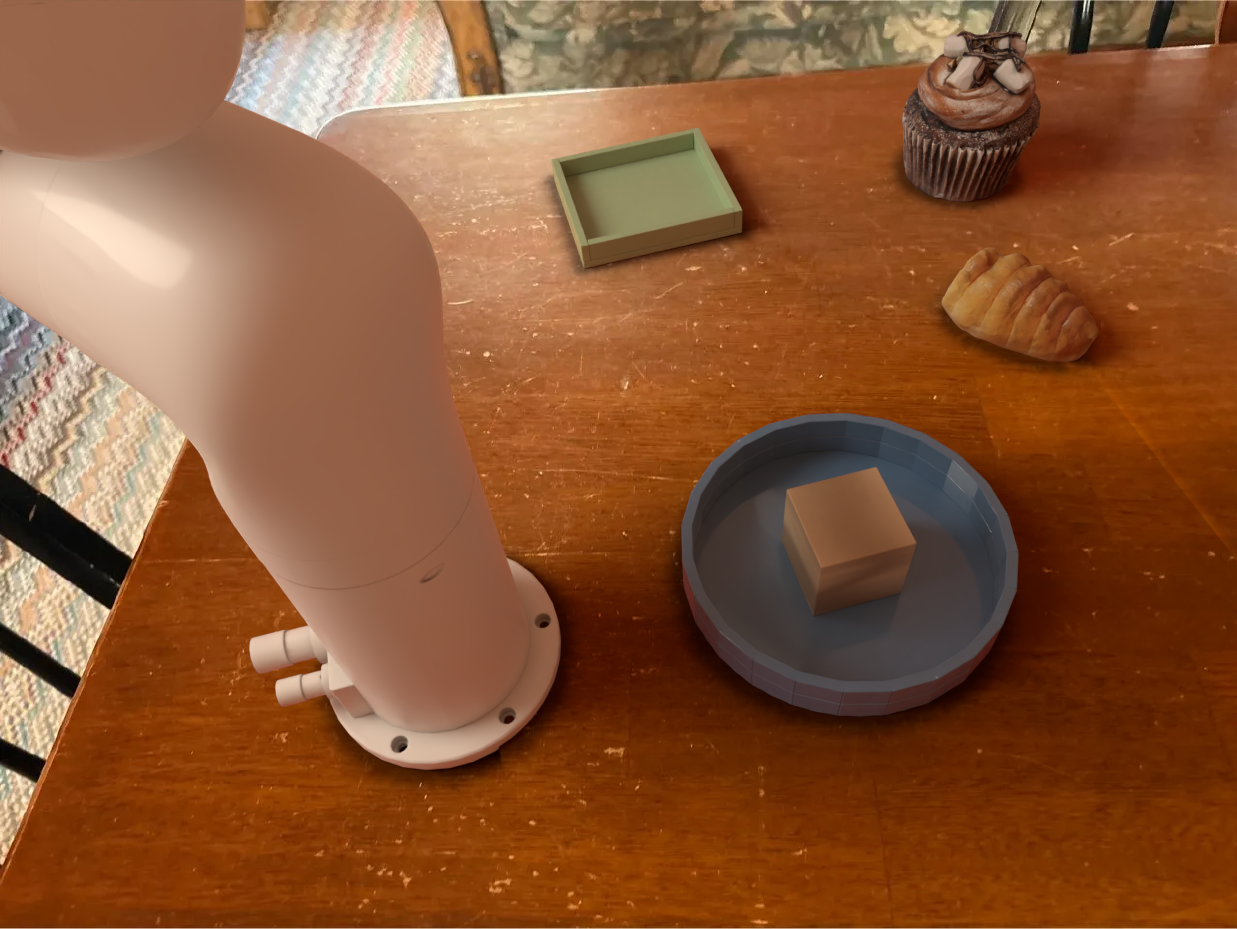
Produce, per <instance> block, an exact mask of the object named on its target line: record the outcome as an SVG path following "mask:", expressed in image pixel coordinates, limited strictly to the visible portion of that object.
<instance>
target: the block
mask: <svg viewBox="0 0 1237 929" xmlns="http://www.w3.org/2000/svg"><path fill="white" fill-rule="evenodd" d="M782 543H783V546H784V548H785V550H786V553H787V555H788V558H789V560H790V562H791V565H792V567H793V569H794V572H795V574H796V576H797V579H798V581H799V584H800V586H801V588H802V591H803V593H804V595H805V598H806V600H807V603H808V605H809V607H810V610H811V612H812V614H813V616H815V615H819V614H823V613H827V612H830V611H834V610H838V609H842V608H846V607H849V606H853V605H857V604H861V603H865V602H868V601H872V600H876V599H880V598H884V597H887V596H891V595H895V594H899V593H901V592H902V589H903V585H904V582H905V579H906V576H907V573H908V569H909V566H910V563H911V560H912V557H913V553H914V550H915V547H916V541H915V539H914V537H913V535H912V533H911V531H910V530H909V528H908V526H907V524H906V522H905V520H904V518H903V516H902V514H901V513H900V511H899V509H898V507H897V505H896V503H895V501H894V499H893V497H892V496H891V494H890V492H889V490H888V488H887V486H886V484H885V482H884V480H883V479H882V477H881V475H880V473H879V471H878V469H877V468H876V467H874V468H870V469H866V470H862V471H858V472H854V473H851V474H847V475H843V476H839V477H835V478H831V479H827V480H823V481H819V482H815V483H811V484H807V485H803V486H799V487H795V488H791V489H787V492H786V502H785V512H784V522H783V532H782Z"/></svg>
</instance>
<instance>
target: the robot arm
mask: <svg viewBox="0 0 1237 929" xmlns="http://www.w3.org/2000/svg"><path fill="white" fill-rule="evenodd" d="M246 25H247V2H246V0H0V297H2V298H3V299H5V300H6V301H7V302H9V303H10V304H12V305H13V306H14V307H16V308H17V309H19V310H20V311H22V312H23V313H25V314H27V315H28V316H29V317H31V318H32V319H34V320H35V321H37V322H38V323H40V324H41V325H42V326H44V327H46V328H47V329H49V330H50V331H52V332H53V333H55V334H56V335H57V336H59V337H61V338H62V339H63V340H65V341H67V342H68V343H69V344H72V345H73V346H74V347H75V348H76V349H77V350H78V351H79V352H81V353H82V354H83V355H84V356H86V357H87V358H88V359H89V360H91V361H93V362H94V363H96V364H98V365H99V366H100V367H102V368H103V369H105V370H106V371H108V372H109V373H111V374H112V375H114V376H116V377H117V378H118V379H120V380H121V381H123V382H124V383H125V384H127V385H128V386H129V387H130V388H133V389H134V390H135V391H136V392H137V393H139V394H140V395H141V396H143V397H144V398H145V399H147V400H148V401H149V402H150V403H152V404H153V405H154V406H155V407H156V408H157V409H158V410H160V412H162V413H163V415H165V417H166V418H168V419H169V420H170V421H171V422H172V423H173V424H174V425H175V426H176V427H177V428H178V429H179V430H180V432H181V433H182V434H183V435H184V436H185V437H186V439H188V441H189V442H190V443H191V444H192V445H193V447H194V448H195V449H196V451H197V452H198V454H199V456H200V457H201V458H202V460H203V462H204V465H205V467H206V471H207V473H208V478H209V481H210V485H211V487H212V488H211V489H212V490H213V492H214V495H215V497H216V499H217V500H218V503H219V504H220V506H221V508H222V509H223V511H224V512H225V514H226V515H227V517H228V518H229V520H230V521H231V524H232V525H233V526H234V528H235V529H236V530H237V532H238V533H239V534H240V536H241V537H242V539H243V540H244V541H245V543H246V544H247V546H248V547H249V549H251V551H252V552H253V554H254V555H255V557H256V558H257V559H258V560H259V561H260V563H262V565H263V566H264V567H265V569H266V570H267V571H268V573H269V574H270V576H271V577H272V578H273V580H274V581H275V582H276V584H277V585H278V586H279V587H280V589H281V590H282V592H283V593H284V594H285V596H286V597H287V598H288V600H289V601H290V603H291V604H292V605H293V607H294V608H295V609H296V611H297V612H298V613H299V615H300V616H301V617H302V619H303V620H304V621H305V623H306V624H307V625H304V626H300V627H295V628H293V629H283V630H277V631H274V632H270V633H266V634H262V635H258V636H254V637H251V638H250V641H249V655H250V660H251V664H252V666H253V667H252V668H253V669H254V670H255V672H256V673H257V674H259V675H262V674H266V673H269V672H273V671H277V670H281V669H285V668H289V667H293V666H294V665H295V664H299V663H301V662H305V661H309V660H313V659H317V661H318V663H319V664H322V665H321V667H320V670H317V671H313V672H309V673H305V674H303V673H300V674H297V675H293V676H288V677H285V678H281V679H278V680H276V682H275V687H274V688H275V697H276V699H277V702H278V704H279V706H280V707H282V708H285V707H289V706H294V705H297V704H301V703H304V702H308V701H309V700H311V699H315V698H318V697H323V696H326V698H327V699H328V700H329V703H330V705H331V707H332V709H333V711H334V714H335V716H336V718H337V720H338V722H339V723H340V724H341V725H342V727H343V728H344V729H345V731H346V732H347V733H348V735H349V736H350V737H351V738H352V739H353V740H354V741H355V742H356V743H357V744H358V745H359V746H360V747H361V748H362V749H364V751H367V752H368V753H370V754H372V755H373V756H375V757H377V758H378V759H380V760H381V761H383V762H386V763H390V764H393V765H396V766H399V767H402V768H407V769H416V770H424V771H429V770H441V769H452V768H455V767H458V766H463V765H467V764H469V763H470V764H471V763H474V762H476V761H478V760H480V759H482V758H484V757H487V756H489V755H490V754H493V753H495V752H497V751H498V750H500V746H502V745H504V744H505V743H507V742H508V741H509V740H511V739H512V738H514V736H516V735H517V734H518V733H519V732H520V731H522V729H523V728H524V727H525V726H526V725H527V724H528V723H529V722H530V721H531V720H532V719H533V718H534V717H535V715H536V714H537V712H538V711H539V709H541V707H542V705H543V704H544V702H545V701H546V699H547V697H548V695H549V693H550V691H551V689H552V687H553V684H554V682H555V680H556V676H557V673H558V668H559V666H560V660H561V651H562V650H561V648H562V634H561V629H560V623H559V619H558V615H557V612H556V609H555V606H554V603H553V601H552V600H551V598H550V596H549V594H548V592H547V590H546V588H545V587H544V586H543V584H542V583H541V582H540V581H539V580H538V579H537V578H536V576H535V575H534V573H532V572H531V571H530V570H528V569H527V568H526V567H524V566H522V565H521V564H520V563H519V562H518V561H515V560H513V559H511V558H510V557H507V554H506V552H505V549H504V546H503V544H502V541H501V537H500V535H499V532H498V528H497V525H496V522H495V520H494V516H493V514H492V511H491V508H490V505H489V502H488V498H487V496H486V493H485V489H484V487H483V484H482V481H481V479H480V475H479V472H478V470H477V467H476V463H475V460H474V458H473V455H472V452H471V449H470V446H469V443H468V440H467V437H466V434H465V431H464V428H463V425H462V422H461V418H460V416H459V413H458V408H457V405H456V402H455V399H454V394H453V390H452V386H451V383H450V376H449V371H448V365H447V364H448V363H447V358H446V348H445V347H446V346H445V334H444V332H445V331H444V305H443V303H444V302H443V291H442V289H443V288H442V281H441V275H440V270H439V264H438V260H437V258H436V253H435V251H434V248H433V245H432V243H431V242H432V241H431V239H430V238H429V235H428V234H427V232H426V229H425V228H424V226H423V225H422V223H421V221H420V220H419V218H418V217H417V216H416V214H415V213H414V211H412V209H411V208H410V207H409V205H407V203H406V202H405V201H404V200H403V199H402V198H401V197H400V196H399V194H397V193H396V192H395V191H394V190H393V189H392V188H391V187H390V186H389V185H388V184H386V182H385V181H383V180H382V179H380V178H379V177H378V176H377V175H375V174H374V173H372V172H371V171H370V170H368V169H367V168H366V167H364V166H363V165H362V164H360V163H359V162H357V161H356V160H355V159H352V158H351V157H349V156H347V155H346V154H345V153H342V152H341V151H340V150H337V149H336V148H334V147H332V146H331V145H329V144H326V143H325V142H323V141H320V140H318V139H316V138H314V137H312V136H311V135H308V134H306V133H304V132H302V131H300V130H297V129H295V128H293V127H290V126H288V125H286V124H283V123H281V122H279V121H276V120H273V119H272V118H269V117H267V116H264V115H262V114H260V113H258V112H255V111H252V110H250V109H248V108H246V107H243V106H241V105H238V104H236V103H234V102H231V101H229V100H225V99H226V97H227V96H228V94H229V92H230V90H231V88H232V86H233V85H234V83H235V79H236V76H237V74H238V71H239V68H240V65H241V60H242V56H243V50H244V44H245V39H246V27H247V26H246ZM543 623H547V624H548V625H547V626H546V627H541V624H543ZM509 716H510V717H512V718H513V720H512V722H509V723H506V722H505V719H506V718H507V717H509ZM404 747H406V748H405V749H404V750H403V751H401V750H402V748H404Z"/></svg>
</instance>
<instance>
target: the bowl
mask: <svg viewBox="0 0 1237 929" xmlns="http://www.w3.org/2000/svg"><path fill="white" fill-rule="evenodd" d="M874 467H876V468H877V469H878V471H879V473H880V475H881V477H882V479H883V480H884V482H885V484H886V486H887V488H888V490H889V492H890V494H891V496H892V497H893V499H894V501H895V503H896V505H897V507H898V509H899V511H900V513H901V514H902V516H903V518H904V520H905V522H906V524H907V526H908V528H909V530H910V531H911V533H912V535H913V537H914V539H915V541H916V547H915V550H914V553H913V557H912V560H911V563H910V566H909V569H908V573H907V576H906V579H905V582H904V585H903V589H902V592H901V593H899V594H895V595H891V596H887V597H884V598H880V599H876V600H872V601H868V602H865V603H861V604H857V605H853V606H849V607H846V608H842V609H838V610H834V611H830V612H827V613H823V614H819V615H815V616H813V614H812V612H811V610H810V607H809V605H808V603H807V600H806V598H805V595H804V593H803V591H802V588H801V586H800V584H799V581H798V579H797V576H796V574H795V572H794V569H793V567H792V565H791V562H790V560H789V558H788V555H787V553H786V550H785V548H784V546H783V543H782V532H783V522H784V512H785V502H786V492H787V489H791V488H795V487H799V486H803V485H807V484H811V483H815V482H819V481H823V480H827V479H831V478H835V477H839V476H843V475H847V474H851V473H854V472H858V471H862V470H866V469H870V468H874ZM680 527H681V528H680V530H681V563H682V581H683V582H682V584H683V590H684V592H685V596H686V598H687V602H688V605H689V607H690V611H691V614H692V617H693V620H694V622H695V624H696V626H697V627H698V629H699V631H701V633H702V635H703V636H704V638H705V640H706V641H707V643H708V644H709V645H710V647H712V650H713V651H714V652H715V654H716V655H717V656H718V657H719V658H720V659H721V660H722V661H723V662H724V663H725V664H726V665H728V667H730V668H731V669H732V670H733V671H734V672H735V673H736V674H738V675H739V676H741V677H742V678H743V679H744V680H745V681H746V682H748V683H749V684H750V685H751V686H753V687H755V688H756V689H759V690H761V691H763V692H765V693H766V694H768V695H769V696H772V697H774V698H776V699H779V700H781V701H782V702H784V703H787V704H789V705H790V706H791V705H792V706H793V707H794V706H795V707H798V708H803V709H806V710H809V711H813V712H817V713H823V714H829V715H833V716H839V717H847V716H848V717H870V716H871V717H872V716H888V715H891V714H894V713H899V712H902V711H903V712H904V711H907V710H910V709H913V708H917V707H920V706H924V705H927V704H929V703H931V702H933V701H934V700H936V699H938V698H939V697H941V696H942V695H944V694H946V693H948V692H949V691H951V690H952V689H954V688H956V687H958V685H960V684H962V683H963V682H965V681H966V679H968V677H969V676H970V675H971V674H972V672H974V670H975V669H976V668H977V667H978V666H979V664H981V662H982V661H983V660H984V659H985V658H986V656H987V655H989V653H990V651H991V650H992V647H993V646H994V644H995V642H996V639H998V636H999V634H1000V632H1001V630H1002V628H1003V626H1004V624H1005V621H1006V618H1007V616H1008V614H1009V612H1010V609H1011V607H1012V604H1013V602H1014V599H1015V596H1016V594H1017V590H1018V581H1019V580H1018V575H1019V557H1020V556H1019V554H1020V553H1019V548H1018V545H1017V542H1016V538H1015V534H1014V531H1013V527H1012V523H1011V519H1010V517H1009V513H1007V511H1006V509H1005V507H1004V505H1003V504H1002V503H1001V501H1000V499H999V498H998V496H997V494H996V493H995V491H994V490H993V488H992V486H991V484H990V483H989V482H988V481H987V480H986V479H985V478H984V477H983V476H982V475H981V474H980V473H979V472H978V471H977V470H976V469H975V468H974V467H973V466H972V465H971V464H970V463H969V462H968V461H967V460H966V459H965V458H964V457H963V456H961V454H959V453H958V452H956V451H954V450H953V449H951V448H950V447H948V446H946V445H945V444H943V443H941V442H940V441H938V440H937V439H935V438H933V437H932V436H930V435H929V434H927V433H925V432H923V431H920V430H918V429H914V428H912V427H909V426H907V425H904V424H901V423H899V422H895V421H893V420H890V419H887V418H881V417H874V416H868V415H863V414H856V413H849V412H836V413H835V412H834V413H813V414H812V413H810V414H809V413H808V414H803V415H799V416H794V417H791V418H787V419H783V420H777V421H774V422H771V423H768V424H766V425H764V426H762V427H760V428H758V429H756V430H754V431H752V432H750V433H747V434H746V435H744V436H742V437H740V438H738V439H737V440H735V441H734V442H733V443H732V444H731V445H730V446H728V447H727V448H726V449H725V450H724V451H723V452H721V453H720V454H719V455H718V456H716V458H715V459H713V460H712V461H711V462H710V463H709V464H708V466H707V468H706V469H705V471H704V472H703V473H702V475H701V476H700V478H699V480H698V481H697V483H696V484H695V486H694V487H693V488H692V490H691V492H690V495H689V498H688V501H687V505H686V508H685V511H684V514H683V519H682V521H681V526H680Z"/></svg>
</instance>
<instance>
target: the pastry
mask: <svg viewBox="0 0 1237 929" xmlns="http://www.w3.org/2000/svg"><path fill="white" fill-rule="evenodd" d="M941 306H942V307H943V309H944V310H945V311H944V312H946V314H947V315H948V316H949V318H950V319H951V320H952V322H953V323H954V324H955V325H956V326H957V327H958V328H959V329H960V330H962V331H963V332H966V333H968V334H969V335H970V336H972V337H974V338H977V339H979V340H983V341H985V342H987V343H989V344H990V343H991V344H993V345H995V346H997V347H999V348H1002V349H1006V350H1010V351H1012V352H1015V353H1019V354H1023V355H1025V356H1029V357H1032V358H1035V359H1039V360H1042V361H1049V362H1063V363H1065V362H1074V361H1077V360H1079V359H1080V358H1081V357H1082V356H1084V355H1085V354H1086V353H1087V351H1089V349H1090V347H1091V346H1092V344H1093V342H1094V341H1095V340H1096V339H1097V337H1098V335H1099V328H1098V327H1097V325H1096V319H1095V318H1094V317H1093V316H1092V314H1091V313H1090V311H1088V309H1087V308H1086V307H1085V302H1084V300H1083V299H1082V298H1081V297H1079V296H1077V295H1075V294H1073V293H1071V291H1070V289H1069V287H1068V284H1067V282H1065V281H1063V280H1059V279H1056V278H1055V276H1054V275H1053V273H1051V272H1050V270H1048V269H1047V267H1046V266H1045V265H1043V264H1037V265H1032V263H1031V260H1030V259H1029V258H1028V257H1027V256H1026V255H1024V254H1022V253H1021V252H1015V253H1011V254H1007V255H1005V254H1003V253H1001V252H1000V251H998V250H997V249H996V248H995V247H993V246H990V247H989V246H987V247H985V248H983V249H981V250H979V251H978V252H976V253H975V254H974V255H973V256H971V257H970V258H969V259H968V260H967V261H966V263H965V264H964V266H963V268H962V269H961V270H959V271H958V273H957V275H956V276H955V277H954V279H953V280H952V282H951V283H950V285H949V286H948V287H947V290H946V292H945V294H944V296H943V297H942V299H941Z"/></svg>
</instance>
